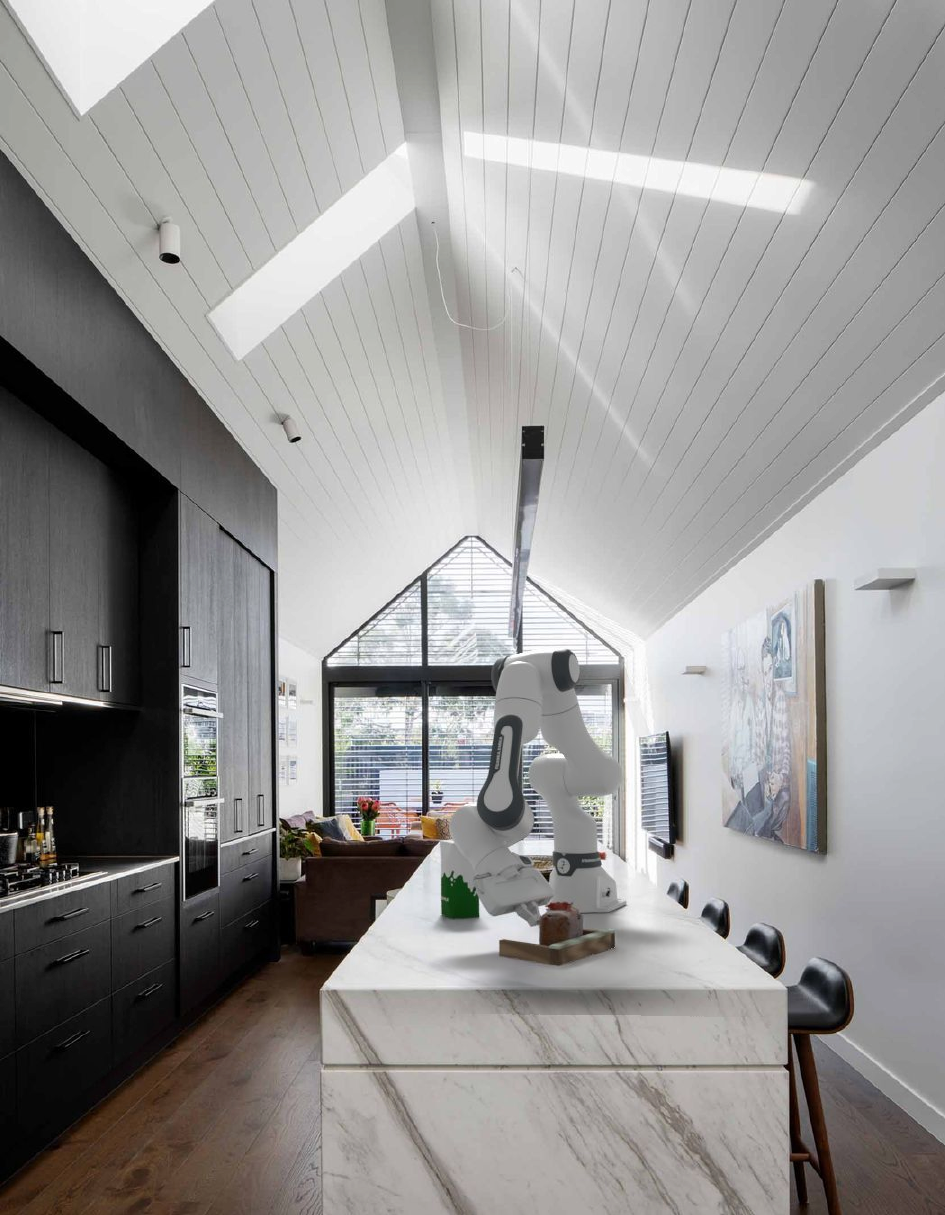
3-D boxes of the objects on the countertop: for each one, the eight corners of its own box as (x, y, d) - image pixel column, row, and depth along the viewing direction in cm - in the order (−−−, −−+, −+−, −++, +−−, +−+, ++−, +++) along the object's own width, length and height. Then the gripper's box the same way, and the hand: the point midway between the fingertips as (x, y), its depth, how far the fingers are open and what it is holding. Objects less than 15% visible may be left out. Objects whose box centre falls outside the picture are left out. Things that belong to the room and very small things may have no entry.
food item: (547, 943, 207) (546, 895, 209) (585, 945, 206) (584, 896, 207) (536, 957, 194) (536, 905, 196) (577, 959, 192) (576, 907, 194)
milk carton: (484, 917, 238) (484, 832, 241) (450, 920, 234) (450, 834, 237) (469, 911, 246) (469, 830, 249) (435, 914, 242) (436, 831, 245)
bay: (558, 939, 211) (558, 922, 212) (615, 947, 202) (614, 930, 203) (499, 956, 195) (499, 937, 195) (558, 965, 186) (558, 946, 187)
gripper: (477, 866, 201) (517, 921, 193) (535, 857, 216) (573, 907, 209) (460, 886, 203) (498, 941, 195) (518, 876, 219) (556, 926, 211)
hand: (538, 924), depth 202 cm, fingers closed
